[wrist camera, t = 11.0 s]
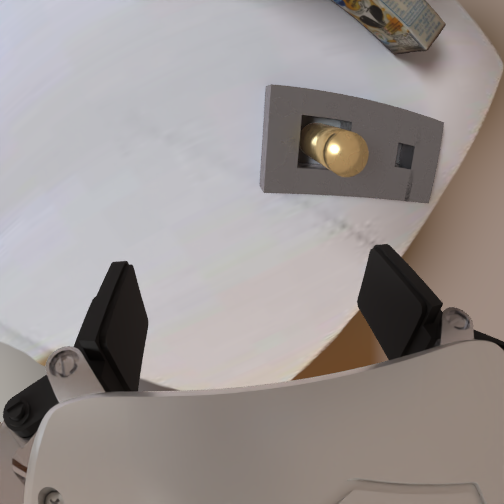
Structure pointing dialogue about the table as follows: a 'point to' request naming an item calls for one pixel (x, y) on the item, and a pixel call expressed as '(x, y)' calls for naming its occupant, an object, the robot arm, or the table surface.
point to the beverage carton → (397, 22)
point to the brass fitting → (335, 148)
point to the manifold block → (355, 120)
